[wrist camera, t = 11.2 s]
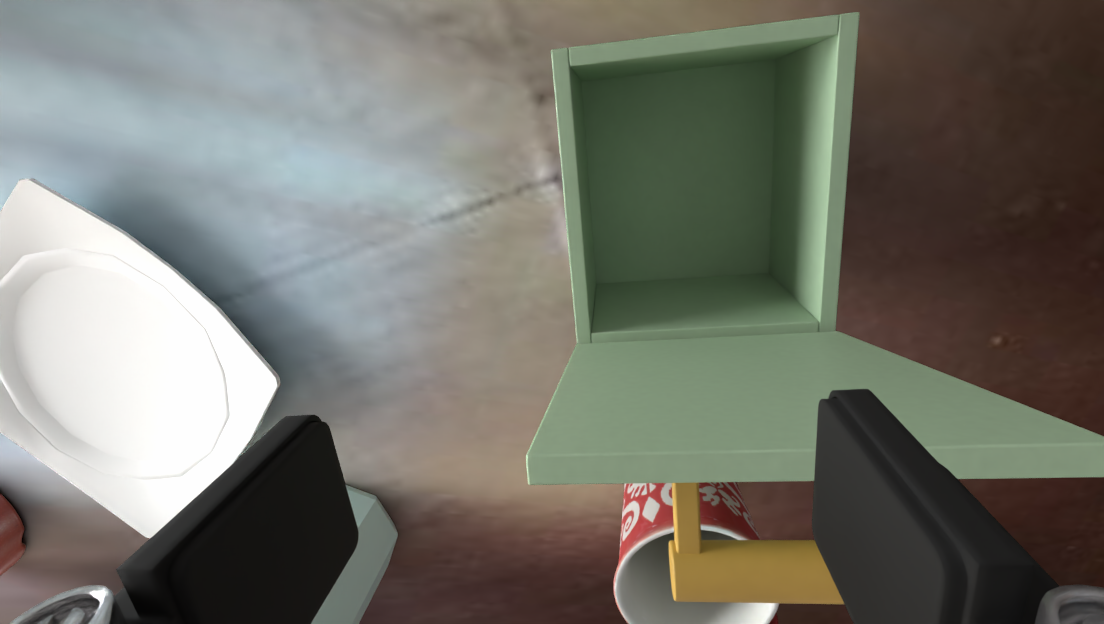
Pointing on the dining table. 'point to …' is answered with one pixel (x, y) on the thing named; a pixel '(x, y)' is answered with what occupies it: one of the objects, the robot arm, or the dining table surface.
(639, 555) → the mug
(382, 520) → the water bottle
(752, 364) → the lid
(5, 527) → the flower pot
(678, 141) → the chest
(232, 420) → the plate
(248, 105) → the dining table surface
